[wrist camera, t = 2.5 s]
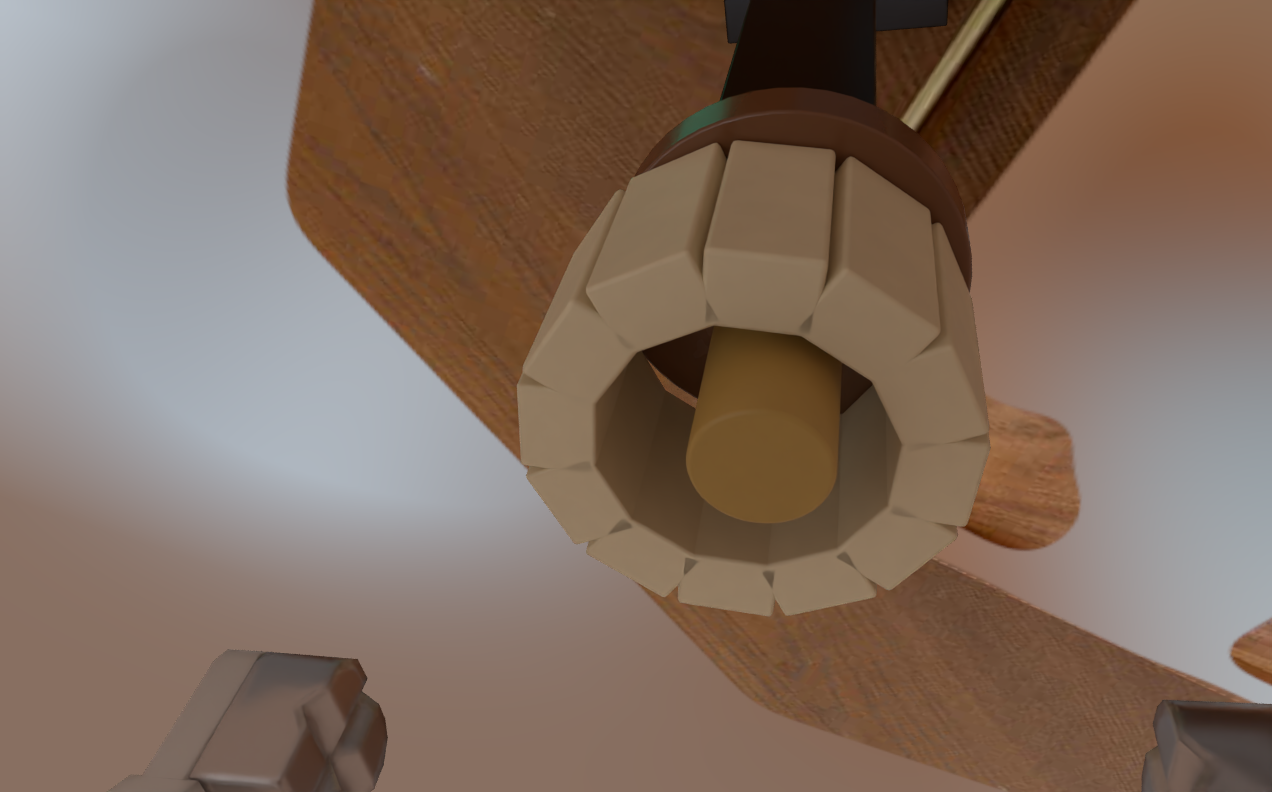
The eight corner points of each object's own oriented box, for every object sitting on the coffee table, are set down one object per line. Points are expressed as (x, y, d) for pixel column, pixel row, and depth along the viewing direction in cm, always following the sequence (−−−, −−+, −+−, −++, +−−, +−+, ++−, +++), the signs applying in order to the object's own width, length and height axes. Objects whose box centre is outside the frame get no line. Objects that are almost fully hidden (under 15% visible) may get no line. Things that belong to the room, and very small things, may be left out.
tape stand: (712, -201, 37) (397, 210, 12) (952, -233, 35) (1128, 173, 11) (731, 31, 41) (531, 656, 17) (945, 13, 39) (1055, 682, 15)
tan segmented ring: (567, 121, 17) (506, 226, 14) (1012, 164, 16) (1041, 286, 13) (571, 449, 21) (526, 581, 18) (924, 498, 20) (932, 643, 17)
